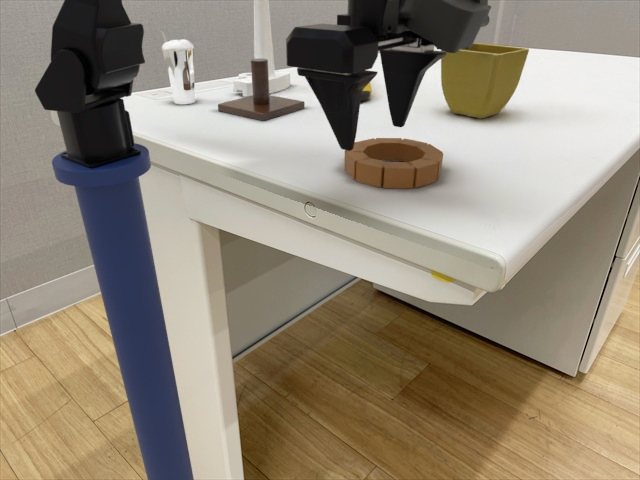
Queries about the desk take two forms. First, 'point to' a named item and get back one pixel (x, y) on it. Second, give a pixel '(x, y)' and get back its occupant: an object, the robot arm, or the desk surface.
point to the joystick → (262, 53)
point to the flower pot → (481, 78)
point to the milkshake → (180, 69)
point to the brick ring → (393, 163)
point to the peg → (260, 98)
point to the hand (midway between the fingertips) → (374, 137)
